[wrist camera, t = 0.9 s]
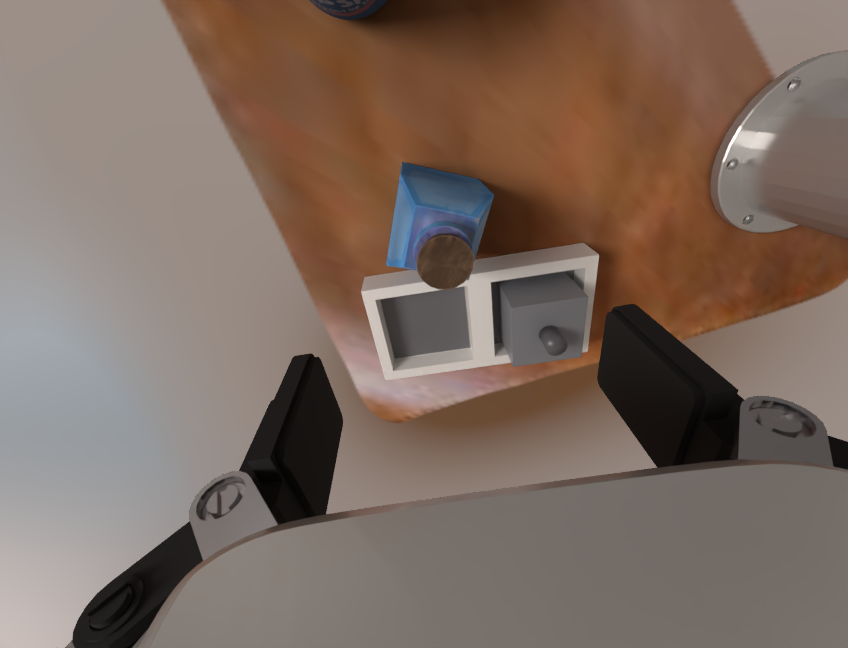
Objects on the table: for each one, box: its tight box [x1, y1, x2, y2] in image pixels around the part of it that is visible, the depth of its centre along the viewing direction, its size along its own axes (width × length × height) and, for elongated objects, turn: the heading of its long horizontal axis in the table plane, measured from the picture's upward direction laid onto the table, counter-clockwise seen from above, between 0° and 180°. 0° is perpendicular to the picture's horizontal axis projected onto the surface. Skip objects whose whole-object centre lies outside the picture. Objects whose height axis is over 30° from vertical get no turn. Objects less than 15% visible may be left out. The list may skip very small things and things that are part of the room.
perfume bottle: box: [386, 162, 494, 290], centre depth 24 cm, size 6×6×12 cm
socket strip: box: [361, 243, 599, 380], centre depth 33 cm, size 20×10×3 cm, turn 99°
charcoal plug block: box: [498, 272, 588, 367], centre depth 30 cm, size 6×6×7 cm
